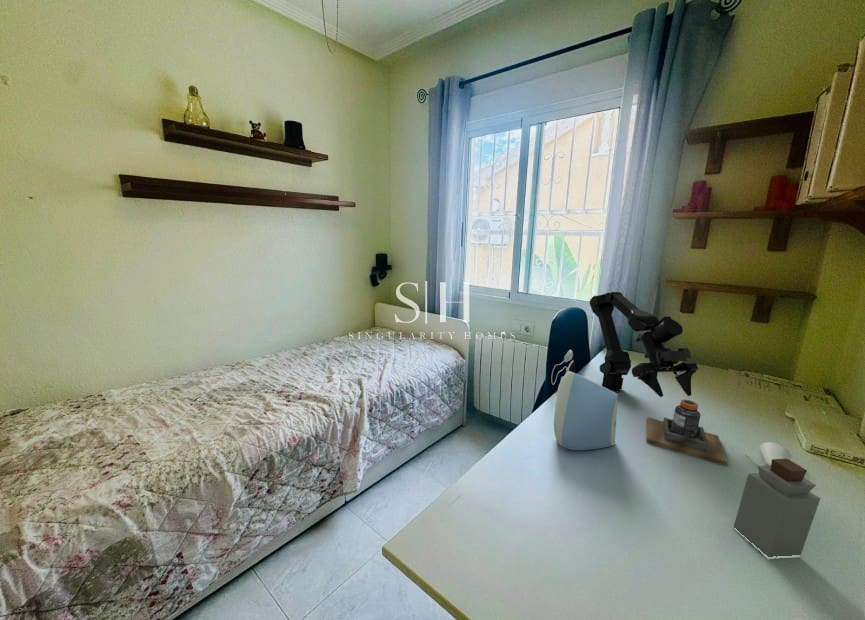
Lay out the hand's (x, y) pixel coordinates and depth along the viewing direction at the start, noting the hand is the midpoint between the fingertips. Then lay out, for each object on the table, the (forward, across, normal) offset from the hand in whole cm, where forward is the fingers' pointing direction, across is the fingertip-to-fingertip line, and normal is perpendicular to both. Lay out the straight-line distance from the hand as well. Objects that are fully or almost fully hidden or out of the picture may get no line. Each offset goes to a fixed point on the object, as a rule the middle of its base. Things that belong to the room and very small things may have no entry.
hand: (675, 396), depth 100 cm
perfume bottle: (+34, -11, -18) cm, 41 cm away
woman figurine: (+21, +15, -4) cm, 26 cm away
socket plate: (+12, 0, +5) cm, 13 cm away
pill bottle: (+11, 0, +4) cm, 12 cm away
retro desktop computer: (+9, -29, +8) cm, 32 cm away
